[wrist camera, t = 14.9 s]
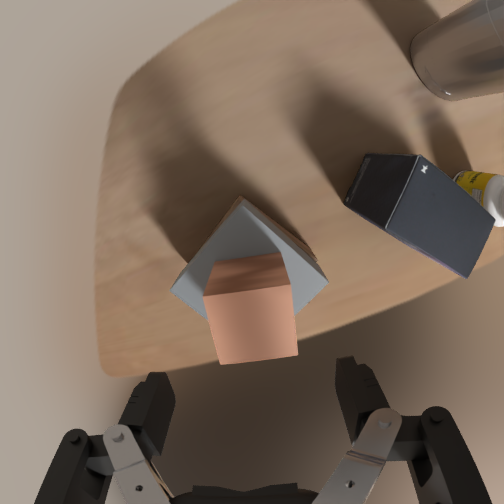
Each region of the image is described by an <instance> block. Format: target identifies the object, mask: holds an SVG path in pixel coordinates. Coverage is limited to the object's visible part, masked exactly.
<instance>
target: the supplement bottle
mask: <svg viewBox="0 0 504 504" xmlns="http://www.w3.org/2000/svg"><path fill="white" fill-rule="evenodd" d="M453 181H455V182H456V183H457V184H458V185H459V186H461V187H462V188H463V189H464V190H465V191H467V192H468V193H469V194H470V195H471V196H472V197H473V198H474V199H475V200H476V201H477V202H479V204H481V205H482V206H483V207H484V208H485V209H486V210H487V211H488V212H489V213H490V214H491V215H492V216H493V217H494V218H495V219H496V221H495V223H494V226H497V227H502V226H504V176H502V175H497V174H490V173H482V172H475V171H461V172H459V173H458V174H457V175H456V176H455V177H454V179H453Z"/></svg>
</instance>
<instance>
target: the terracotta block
mask: <svg viewBox="0 0 504 504" xmlns="http://www.w3.org/2000/svg"><path fill="white" fill-rule="evenodd" d="M203 301H204V305H205V309H206V313H207V317H208V321H209V325H210V328H211V332H212V336H213V340H214V343H215V347H216V351H217V354H218V358H219V362H220V364H233V363H242V362H251V361H259V360H267V359H274V358H281V357H289V356H295V355H298V349H297V338H296V328H295V318H294V309H293V299H292V290H291V283H290V280H289V277H288V274H287V270H286V267H285V264H284V261H283V257H282V254H281V252H277V253H270V254H264V255H257V256H250V257H243V258H236V259H230V260H223V261H216V262H214V265H213V268H212V271H211V274H210V277H209V279H208V282H207V285H206V288H205V291H204V294H203Z"/></svg>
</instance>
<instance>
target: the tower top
mask: <svg viewBox="0 0 504 504" xmlns="http://www.w3.org/2000/svg"><path fill="white" fill-rule="evenodd" d="M277 252H281V254H282V257H283V261H284V264H285V267H286V270H287V274H288V277H289V280H290V283H291V290H292V299H293V309H294V316H295V315H296V314H297V313H298V312H299V311H300V310H301V309H302V308H303V307H304V306H305V305H306V304H307V303H308V302H309V301H310V300H311V299H312V298H314V297H315V296H316V295H317V294H318V293H319V292H320V291H321V290H322V289H323V288H324V287H325V286H326V285H327V284H328V283H329V281H328V280H327V278H326V276H325V275H324V273H323V271H322V270H321V268H320V266H319V265H318V264H317V263H316V262H315V261H314V260H313V259H312V258H311V257H309V256H308V255H307V254H306V253H305V252H304V251H303V250H302V249H301V248H300V247H298V246H297V245H296V244H295V243H294V242H293V241H292V240H291V239H290V238H288V237H287V236H286V235H285V234H284V233H283V232H282V231H281V230H280V229H278V228H277V227H276V226H275V225H274V224H273V223H272V222H271V221H269V220H268V219H267V218H266V217H265V216H264V215H263V214H261V213H260V212H259V211H258V210H257V209H256V208H255V207H253V206H252V205H251V204H250V203H249V202H248V201H247V200H245V199H244V200H243V201H242V202H241V203H240V204H239V205H238V206H237V207H236V209H235V210H234V211H233V212H232V213H231V214H230V215H229V217H228V218H227V219H226V220H225V221H224V222H223V223H222V225H221V226H220V227H219V228H218V229H217V230H216V231H215V233H214V234H213V235H212V236H211V237H210V238H209V240H208V241H207V242H206V243H205V244H204V245H203V247H202V248H201V249H200V250H199V251H198V253H197V254H196V255H195V256H194V257H193V258H192V260H191V261H190V262H189V263H188V264H187V266H186V267H185V268H184V269H183V270H182V272H181V273H180V274H179V276H178V278H177V279H176V281H175V283H174V284H173V286H172V287H171V289H170V291H171V292H172V293H173V294H174V295H176V296H177V297H178V298H179V299H181V300H182V301H183V302H185V303H186V304H187V305H188V306H190V307H191V308H192V309H194V310H195V311H196V312H198V313H199V314H200V315H201V316H203V317H204V318H205V319H207V320H208V317H207V313H206V309H205V305H204V301H203V294H204V291H205V288H206V285H207V282H208V279H209V277H210V274H211V271H212V268H213V265H214V262H216V261H223V260H230V259H236V258H243V257H250V256H257V255H264V254H270V253H277Z"/></svg>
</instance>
